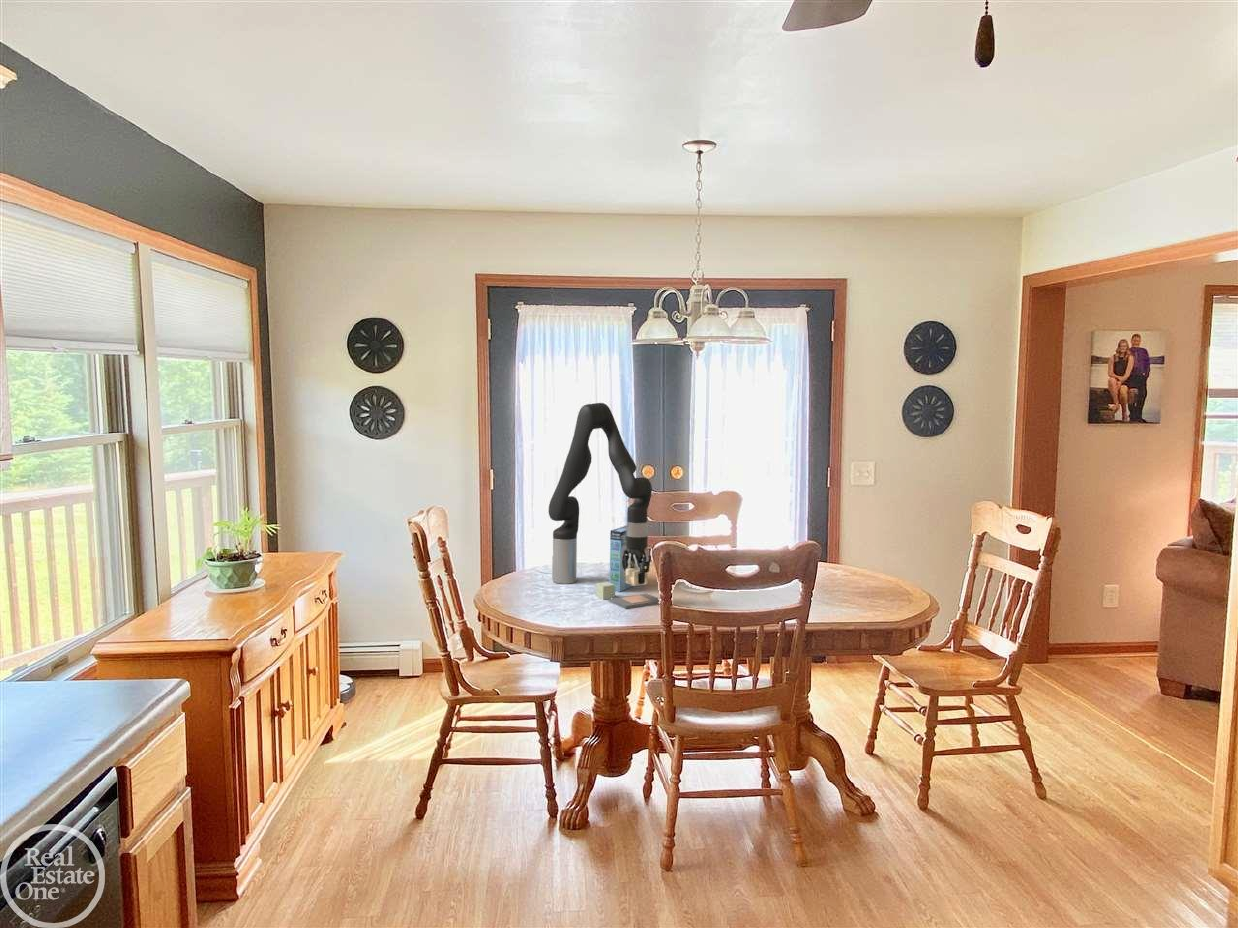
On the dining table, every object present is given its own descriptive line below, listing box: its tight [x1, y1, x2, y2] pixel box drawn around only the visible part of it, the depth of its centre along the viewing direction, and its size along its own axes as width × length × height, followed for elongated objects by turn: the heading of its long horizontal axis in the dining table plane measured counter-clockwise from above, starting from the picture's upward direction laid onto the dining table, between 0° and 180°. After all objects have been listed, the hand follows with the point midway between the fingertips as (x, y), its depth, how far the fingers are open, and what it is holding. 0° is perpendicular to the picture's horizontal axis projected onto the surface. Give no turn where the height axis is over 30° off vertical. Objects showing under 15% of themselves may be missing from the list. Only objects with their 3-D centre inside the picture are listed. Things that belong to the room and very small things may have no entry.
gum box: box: [608, 524, 642, 593], centre depth 309 cm, size 20×5×23 cm, turn 153°
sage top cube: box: [595, 581, 616, 601], centre depth 292 cm, size 5×5×5 cm
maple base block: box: [626, 568, 648, 587], centre depth 285 cm, size 6×6×5 cm
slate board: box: [608, 593, 659, 610], centre depth 286 cm, size 11×16×1 cm
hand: (636, 581), depth 285 cm, fingers closed on maple base block, 5 cm apart
